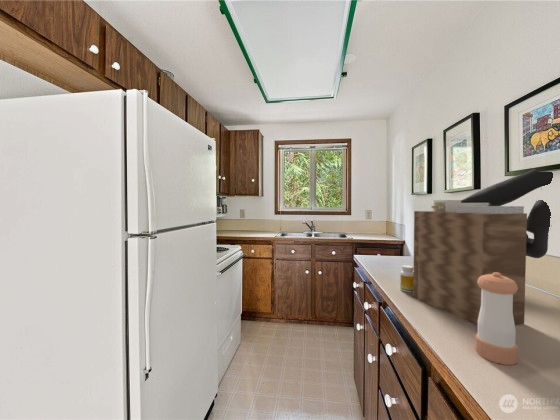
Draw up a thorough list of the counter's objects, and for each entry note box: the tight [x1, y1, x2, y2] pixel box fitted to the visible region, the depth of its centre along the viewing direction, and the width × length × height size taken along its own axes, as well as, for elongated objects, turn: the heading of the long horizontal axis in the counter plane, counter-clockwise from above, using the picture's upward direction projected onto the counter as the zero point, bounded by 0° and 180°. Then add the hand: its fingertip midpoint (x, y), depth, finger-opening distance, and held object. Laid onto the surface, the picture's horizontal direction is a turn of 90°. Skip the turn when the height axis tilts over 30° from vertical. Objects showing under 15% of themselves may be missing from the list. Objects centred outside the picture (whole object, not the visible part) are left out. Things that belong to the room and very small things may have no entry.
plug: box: [431, 199, 489, 212], centre depth 87 cm, size 5×22×4 cm, turn 106°
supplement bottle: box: [399, 264, 414, 294], centre depth 99 cm, size 5×5×10 cm
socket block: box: [456, 205, 525, 214], centre depth 75 cm, size 11×12×2 cm
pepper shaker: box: [474, 272, 518, 366], centre depth 57 cm, size 7×7×19 cm
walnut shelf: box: [412, 210, 528, 327], centre depth 82 cm, size 26×14×32 cm, turn 16°
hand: (475, 205), depth 89 cm, fingers open, 8 cm apart
